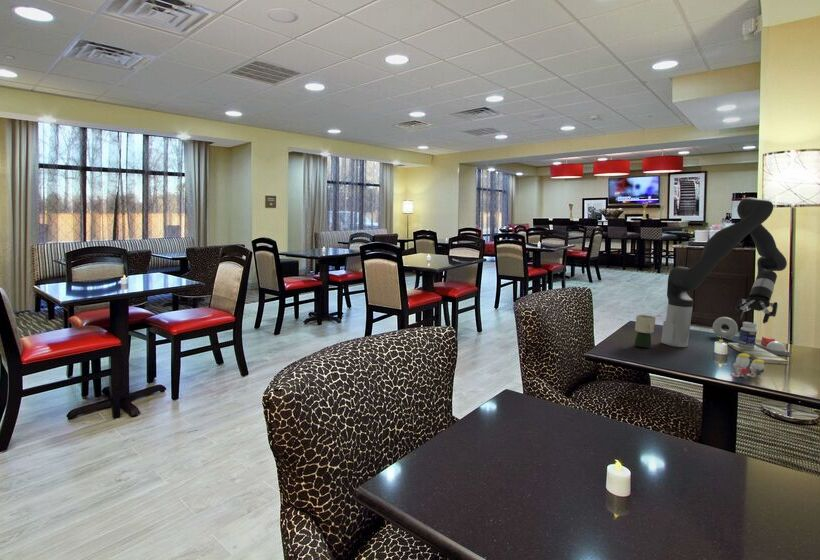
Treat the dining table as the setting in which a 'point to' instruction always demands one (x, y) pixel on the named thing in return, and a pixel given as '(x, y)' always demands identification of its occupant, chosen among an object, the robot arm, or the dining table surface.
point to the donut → (728, 321)
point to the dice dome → (772, 346)
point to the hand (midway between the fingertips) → (751, 320)
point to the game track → (758, 353)
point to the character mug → (644, 330)
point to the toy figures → (743, 362)
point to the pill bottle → (747, 334)
